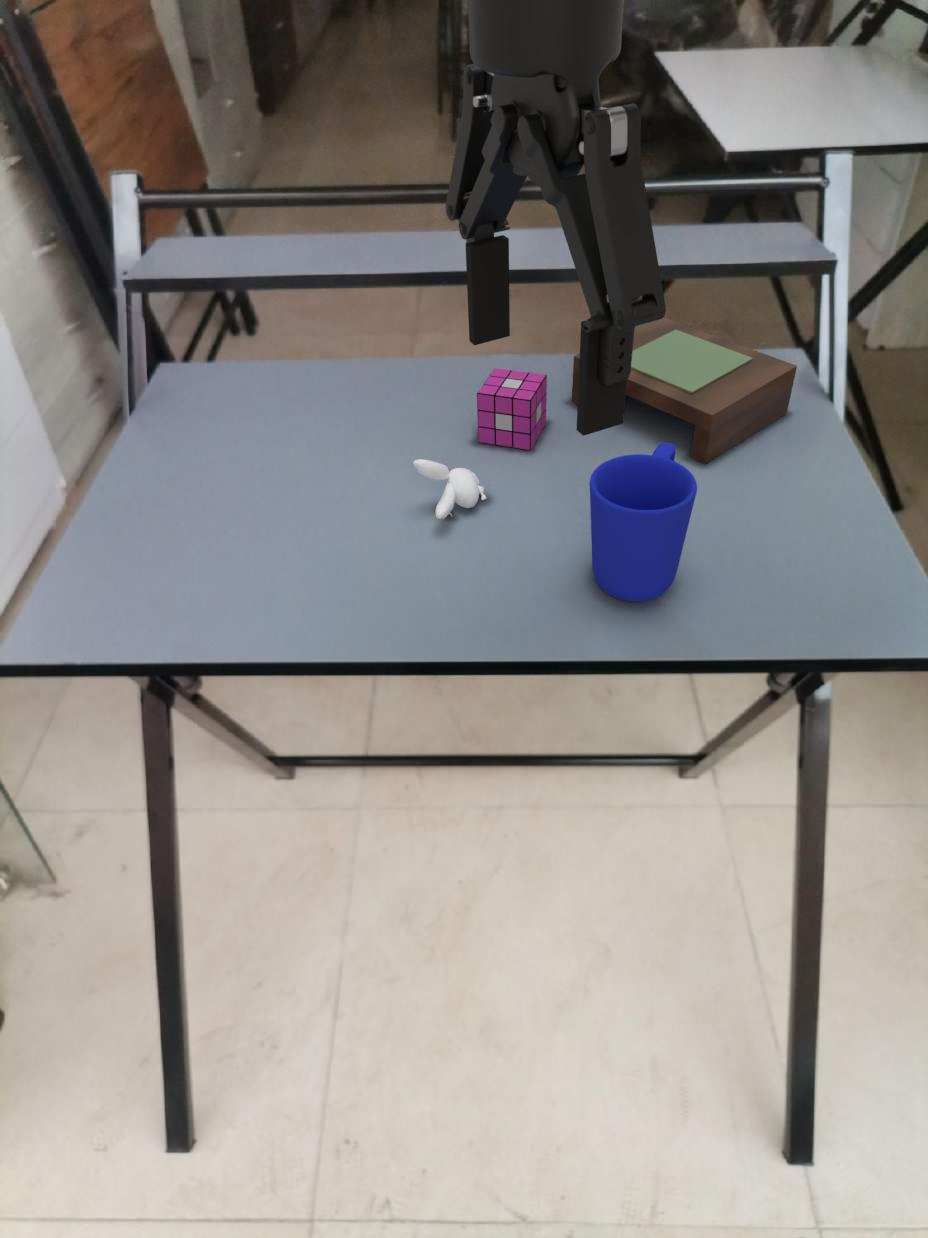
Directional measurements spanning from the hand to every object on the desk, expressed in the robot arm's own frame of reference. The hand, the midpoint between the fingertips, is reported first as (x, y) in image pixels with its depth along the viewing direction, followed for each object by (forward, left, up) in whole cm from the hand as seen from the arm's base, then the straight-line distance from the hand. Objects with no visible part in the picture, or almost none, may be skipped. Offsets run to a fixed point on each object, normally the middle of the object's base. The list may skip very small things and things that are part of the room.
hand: (540, 379), depth 58 cm
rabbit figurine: (+19, -7, -23) cm, 30 cm away
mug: (+1, -13, -23) cm, 26 cm away
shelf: (+16, -37, -23) cm, 46 cm away
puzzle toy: (+25, -21, -23) cm, 40 cm away
